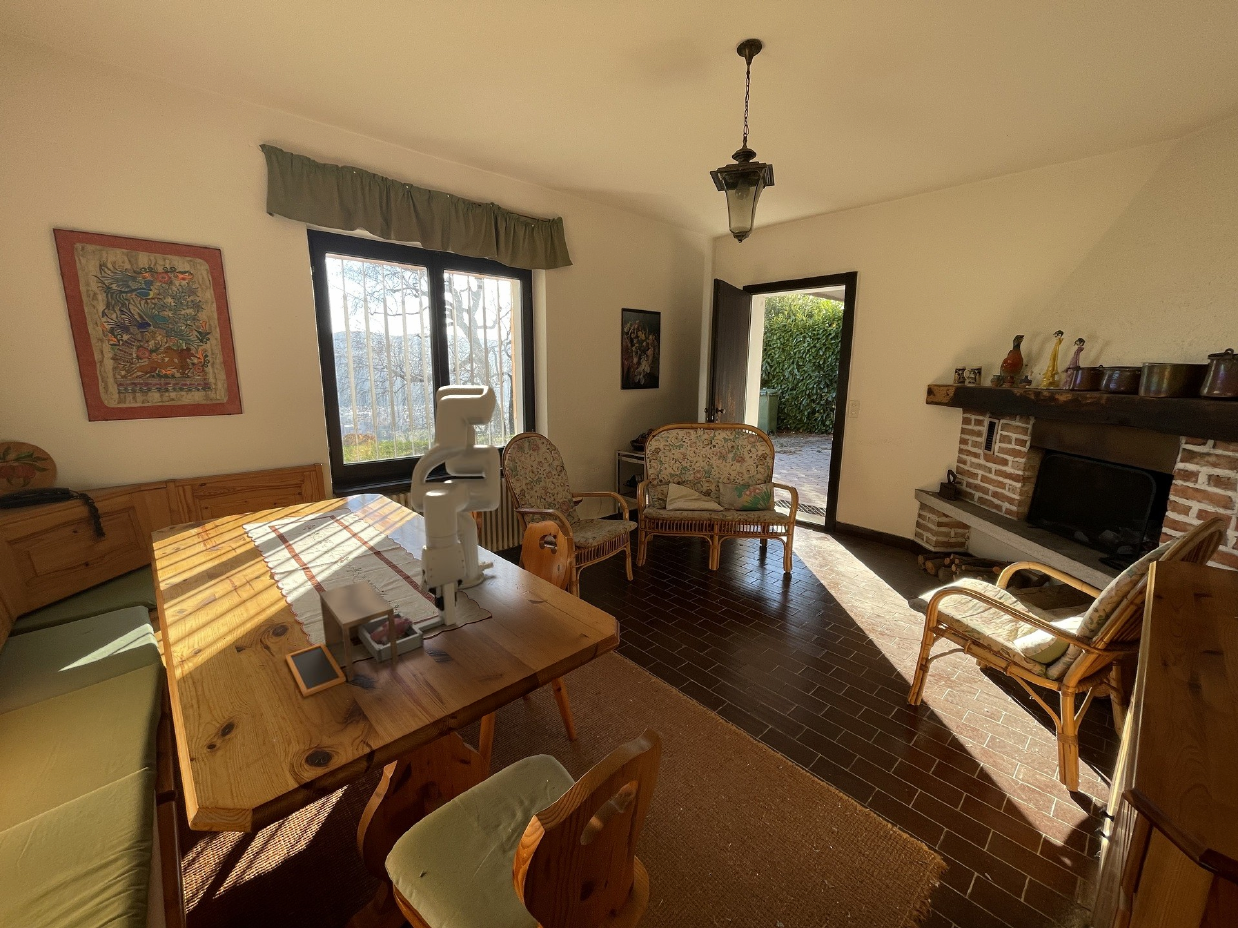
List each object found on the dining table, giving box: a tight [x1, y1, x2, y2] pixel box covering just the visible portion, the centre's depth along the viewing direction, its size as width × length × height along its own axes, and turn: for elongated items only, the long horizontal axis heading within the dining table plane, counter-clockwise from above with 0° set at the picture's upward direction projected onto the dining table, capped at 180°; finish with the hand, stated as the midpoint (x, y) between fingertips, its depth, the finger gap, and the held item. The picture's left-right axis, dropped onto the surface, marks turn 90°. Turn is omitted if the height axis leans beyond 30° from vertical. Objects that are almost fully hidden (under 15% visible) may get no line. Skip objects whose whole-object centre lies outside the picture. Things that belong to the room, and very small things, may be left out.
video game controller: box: [370, 615, 414, 646], centre depth 117 cm, size 10×5×7 cm, turn 148°
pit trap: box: [284, 642, 347, 698], centre depth 107 cm, size 8×18×1 cm, turn 43°
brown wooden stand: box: [319, 580, 399, 682], centre depth 112 cm, size 10×18×13 cm, turn 43°
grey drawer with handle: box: [357, 582, 457, 663], centre depth 120 cm, size 20×14×11 cm
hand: (446, 606), depth 127 cm, fingers open, 2 cm apart
